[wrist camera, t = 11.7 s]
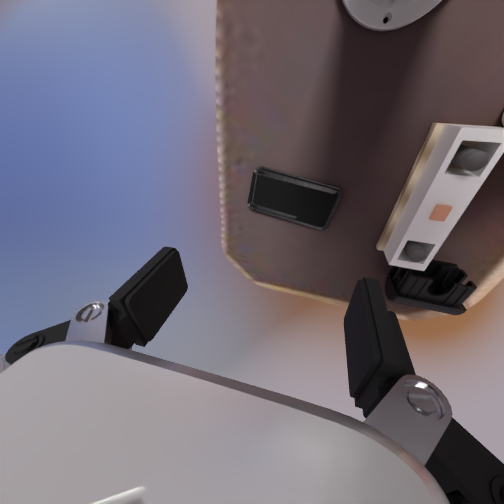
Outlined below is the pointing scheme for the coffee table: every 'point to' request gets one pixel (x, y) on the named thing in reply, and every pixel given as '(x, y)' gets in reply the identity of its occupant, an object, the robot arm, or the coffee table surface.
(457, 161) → the board
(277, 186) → the phone
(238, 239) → the coffee table surface
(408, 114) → the coffee table surface
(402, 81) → the coffee table surface
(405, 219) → the white long block
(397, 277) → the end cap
